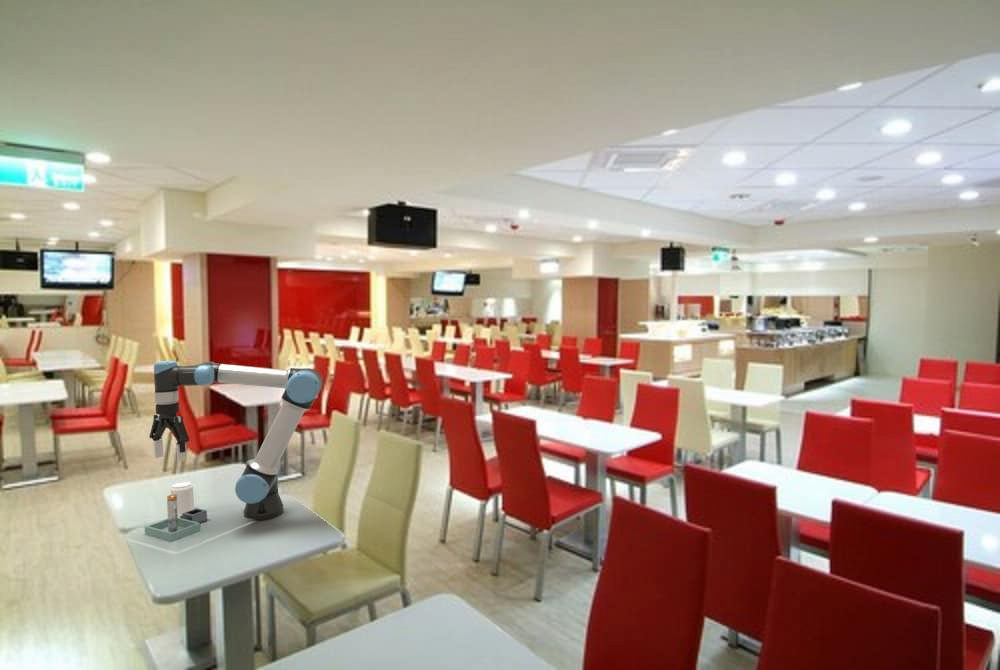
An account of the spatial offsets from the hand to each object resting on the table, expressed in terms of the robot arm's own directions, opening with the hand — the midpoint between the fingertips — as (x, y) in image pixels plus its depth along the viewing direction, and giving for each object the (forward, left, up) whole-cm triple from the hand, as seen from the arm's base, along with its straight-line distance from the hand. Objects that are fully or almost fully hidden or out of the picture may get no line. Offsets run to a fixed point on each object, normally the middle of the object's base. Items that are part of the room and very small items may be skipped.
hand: (170, 459), depth 201 cm
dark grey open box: (+4, -10, -29) cm, 31 cm away
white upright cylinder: (+19, -16, -29) cm, 38 cm away
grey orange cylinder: (0, 0, -28) cm, 28 cm away
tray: (0, 0, -29) cm, 29 cm away
